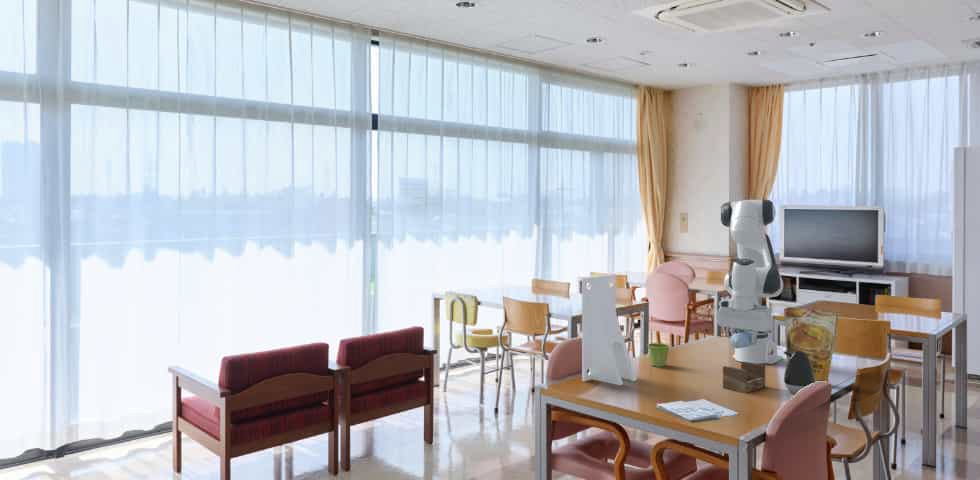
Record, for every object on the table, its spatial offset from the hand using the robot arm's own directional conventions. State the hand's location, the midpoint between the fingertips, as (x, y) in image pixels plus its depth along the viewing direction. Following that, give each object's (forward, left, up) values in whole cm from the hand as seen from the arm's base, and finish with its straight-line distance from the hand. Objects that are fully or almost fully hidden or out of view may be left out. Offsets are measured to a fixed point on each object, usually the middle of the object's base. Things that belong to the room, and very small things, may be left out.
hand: (743, 341), depth 262 cm
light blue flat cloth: (+39, +7, -18) cm, 44 cm away
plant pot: (-8, -44, -17) cm, 48 cm away
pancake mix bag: (-25, +12, -17) cm, 32 cm away
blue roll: (0, 0, -2) cm, 2 cm away
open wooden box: (0, 0, -17) cm, 17 cm away
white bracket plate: (+26, -40, -17) cm, 51 cm away
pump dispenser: (-8, +17, -17) cm, 26 cm away
